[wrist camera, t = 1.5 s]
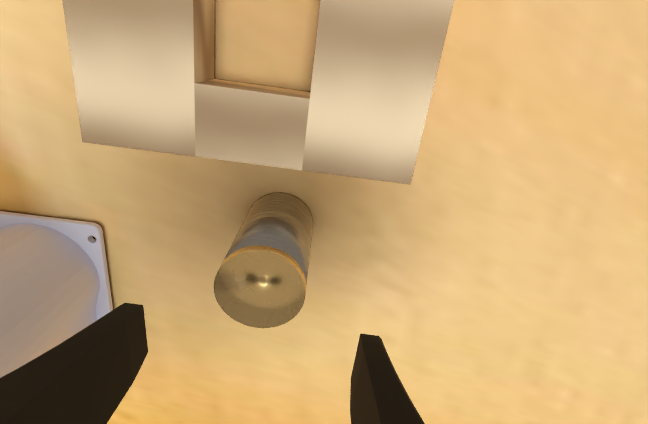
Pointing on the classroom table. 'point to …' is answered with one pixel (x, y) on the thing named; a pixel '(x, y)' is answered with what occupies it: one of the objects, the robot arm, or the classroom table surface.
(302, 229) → the pin
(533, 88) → the classroom table surface
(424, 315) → the classroom table surface
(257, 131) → the block
